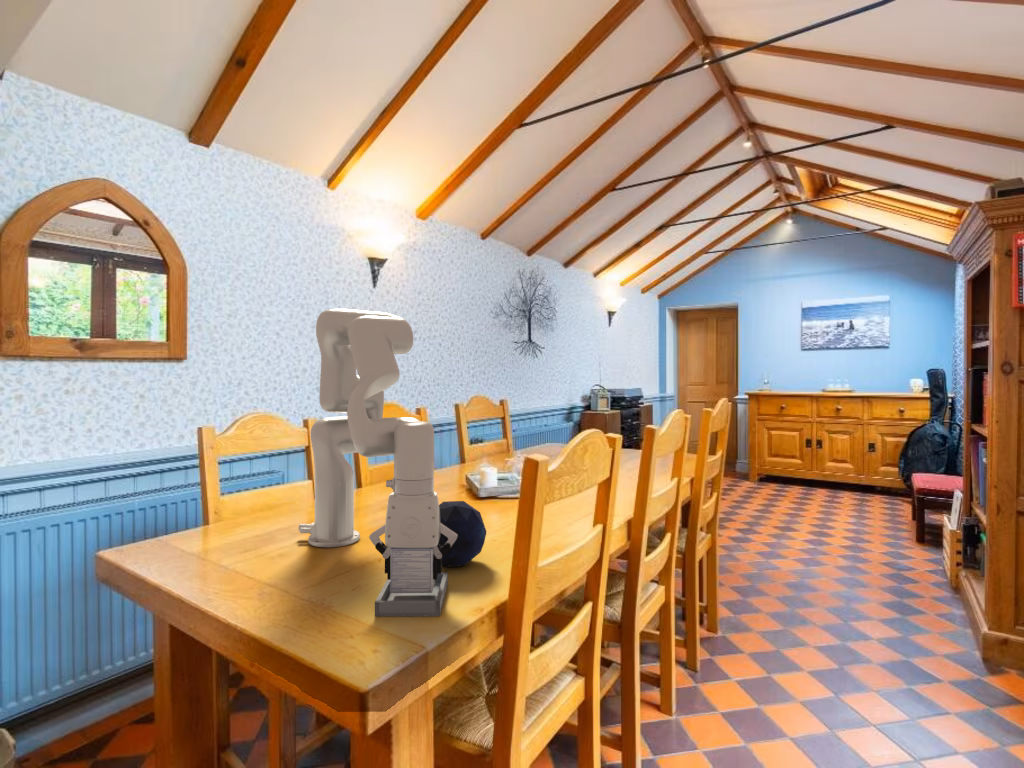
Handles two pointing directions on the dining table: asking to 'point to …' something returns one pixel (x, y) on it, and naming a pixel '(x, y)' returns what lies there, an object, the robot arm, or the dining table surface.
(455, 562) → the decorative orb
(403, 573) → the medicine box
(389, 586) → the tray
